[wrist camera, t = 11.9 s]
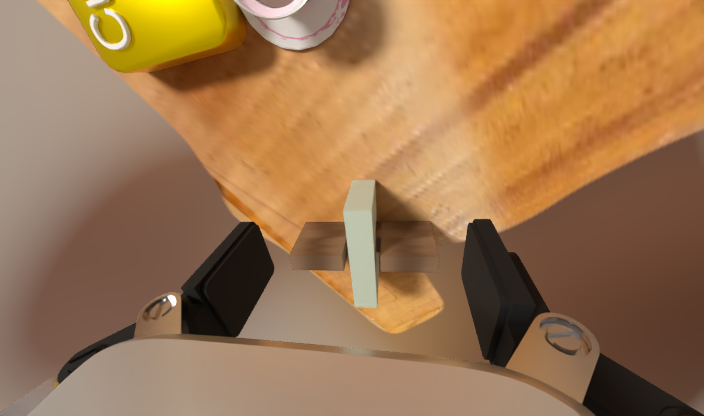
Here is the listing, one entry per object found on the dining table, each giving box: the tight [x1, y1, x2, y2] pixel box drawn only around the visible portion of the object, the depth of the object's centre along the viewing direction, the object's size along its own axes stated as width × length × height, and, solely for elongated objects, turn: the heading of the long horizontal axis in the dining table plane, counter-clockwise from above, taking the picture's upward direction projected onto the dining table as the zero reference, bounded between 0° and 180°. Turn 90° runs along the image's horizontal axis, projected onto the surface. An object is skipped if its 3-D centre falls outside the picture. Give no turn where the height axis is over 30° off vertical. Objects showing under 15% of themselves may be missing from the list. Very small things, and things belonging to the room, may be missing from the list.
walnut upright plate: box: [289, 221, 439, 273], centre depth 34 cm, size 18×2×8 cm, turn 95°
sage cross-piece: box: [343, 180, 379, 308], centre depth 34 cm, size 3×15×8 cm, turn 5°
